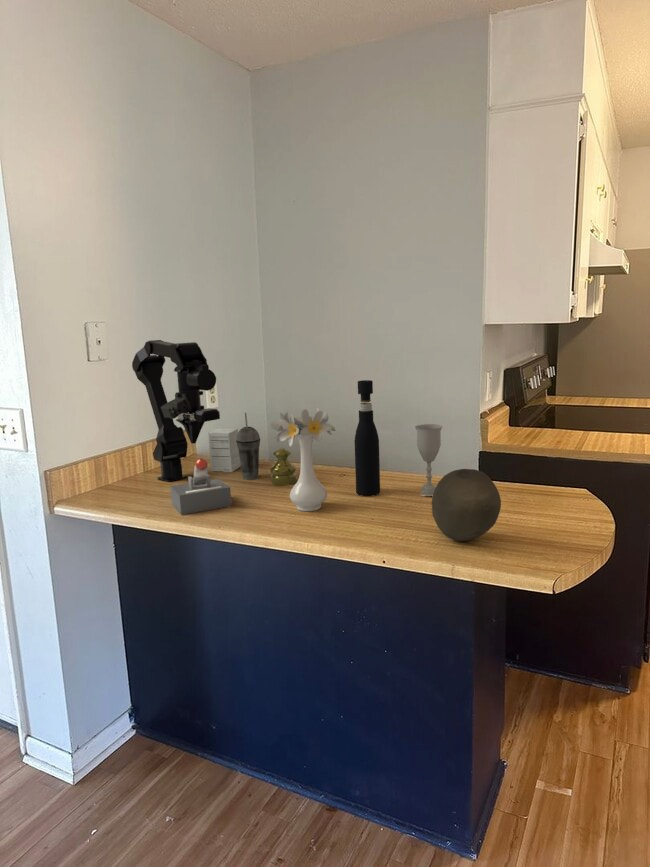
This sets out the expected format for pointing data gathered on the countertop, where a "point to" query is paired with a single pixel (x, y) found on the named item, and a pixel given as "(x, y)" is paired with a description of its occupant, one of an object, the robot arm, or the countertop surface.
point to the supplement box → (224, 450)
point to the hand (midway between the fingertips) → (193, 443)
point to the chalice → (428, 450)
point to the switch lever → (200, 472)
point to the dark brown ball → (465, 504)
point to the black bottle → (366, 445)
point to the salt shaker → (283, 469)
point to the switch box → (200, 496)
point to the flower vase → (304, 455)
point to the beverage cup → (248, 451)
